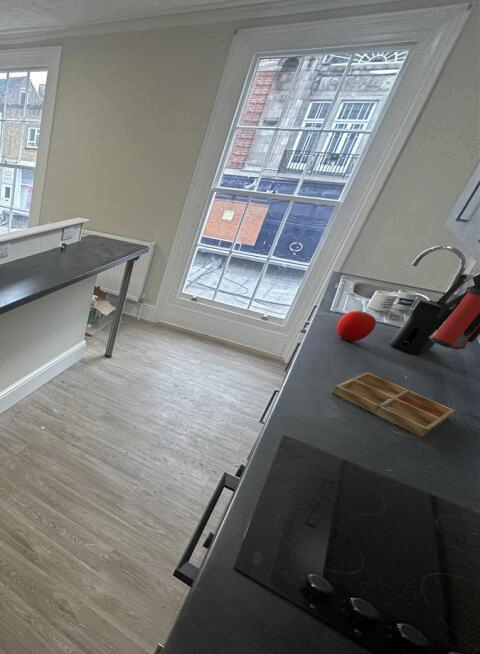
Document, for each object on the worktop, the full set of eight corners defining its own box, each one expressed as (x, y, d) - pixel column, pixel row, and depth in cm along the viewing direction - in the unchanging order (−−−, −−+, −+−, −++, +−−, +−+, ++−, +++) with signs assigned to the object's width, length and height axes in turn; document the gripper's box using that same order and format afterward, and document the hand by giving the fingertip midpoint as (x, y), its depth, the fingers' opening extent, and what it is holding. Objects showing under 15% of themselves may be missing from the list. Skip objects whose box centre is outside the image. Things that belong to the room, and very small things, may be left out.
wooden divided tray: (448, 418, 123) (455, 410, 122) (420, 437, 113) (428, 429, 112) (361, 379, 140) (367, 371, 138) (331, 393, 130) (336, 385, 128)
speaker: (441, 347, 120) (486, 291, 110) (421, 335, 126) (462, 282, 117) (470, 352, 119) (518, 296, 109) (449, 340, 125) (492, 286, 116)
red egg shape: (334, 330, 175) (350, 304, 168) (365, 341, 168) (384, 313, 161) (327, 337, 168) (345, 309, 162) (360, 348, 161) (379, 320, 155)
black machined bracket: (385, 345, 166) (421, 296, 155) (404, 337, 175) (439, 290, 164) (422, 359, 157) (463, 309, 146) (440, 350, 167) (479, 301, 155)
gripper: (456, 251, 115) (404, 322, 127) (566, 275, 100) (496, 353, 112) (465, 249, 118) (414, 318, 130) (573, 273, 103) (504, 349, 115)
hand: (452, 334), depth 121 cm, fingers closed on speaker, 7 cm apart
